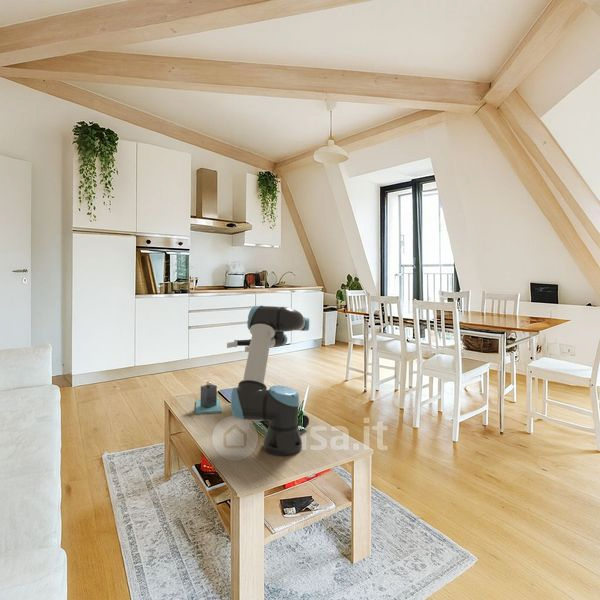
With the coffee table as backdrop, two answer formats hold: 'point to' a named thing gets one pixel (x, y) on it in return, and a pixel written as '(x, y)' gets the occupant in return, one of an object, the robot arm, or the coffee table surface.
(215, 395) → the lock block
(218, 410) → the teal cloth
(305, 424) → the end cap
